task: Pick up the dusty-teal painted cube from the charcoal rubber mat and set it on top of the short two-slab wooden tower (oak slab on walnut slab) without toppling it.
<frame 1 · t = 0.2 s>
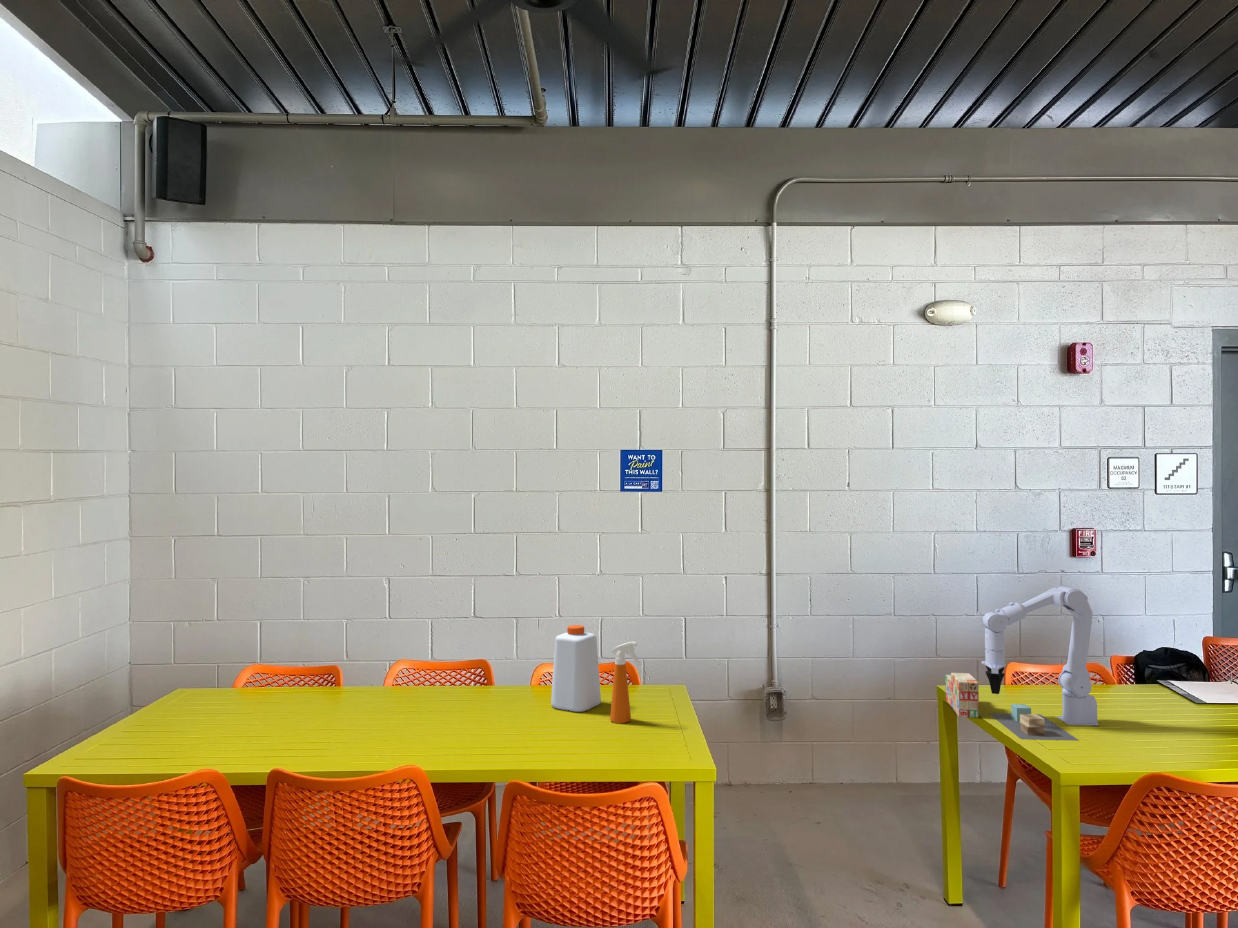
hand: (995, 690, 259), 10 cm above the table, fingers open, 7 cm apart
rubber mat: (1031, 726, 251), on the table
teal cube: (1021, 719, 258), resting on rubber mat
walnut slab: (1032, 732, 245), resting on rubber mat, touching oak slab
spray bottle: (626, 721, 260), on the table
plastic bottle: (576, 705, 278), on the table
oak slab: (1032, 724, 245), point 3 cm above the table, touching walnut slab
stack of blocks: (961, 709, 271), on the table
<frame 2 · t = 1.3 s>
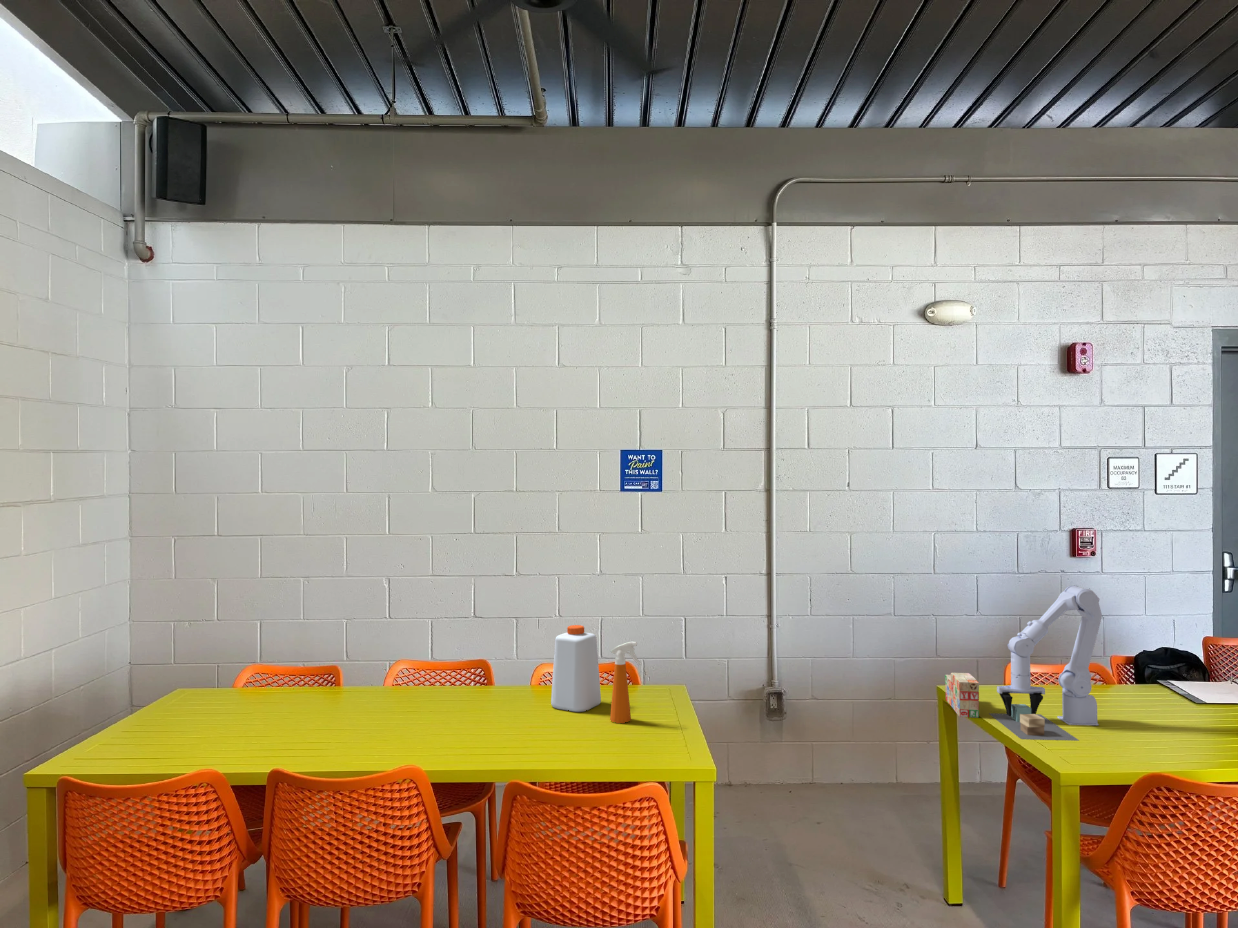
hand: (1021, 715, 258), 2 cm above the table, fingers open, 7 cm apart
nothing on the table moved.
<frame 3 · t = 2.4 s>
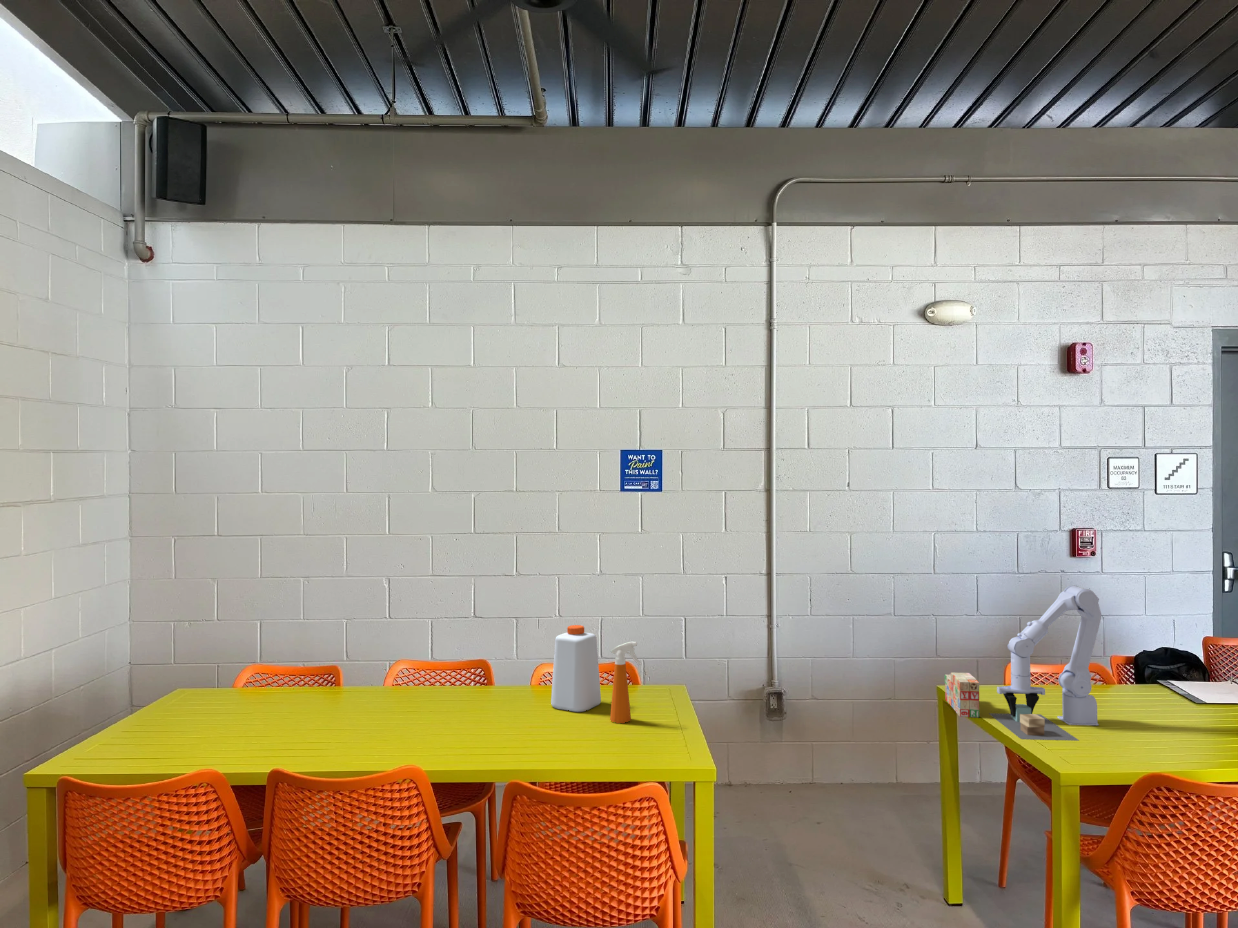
hand: (1021, 715, 258), 2 cm above the table, fingers closed on teal cube, 4 cm apart
teal cube: (1021, 719, 258), resting on rubber mat, touching gripper
everything else where it was.
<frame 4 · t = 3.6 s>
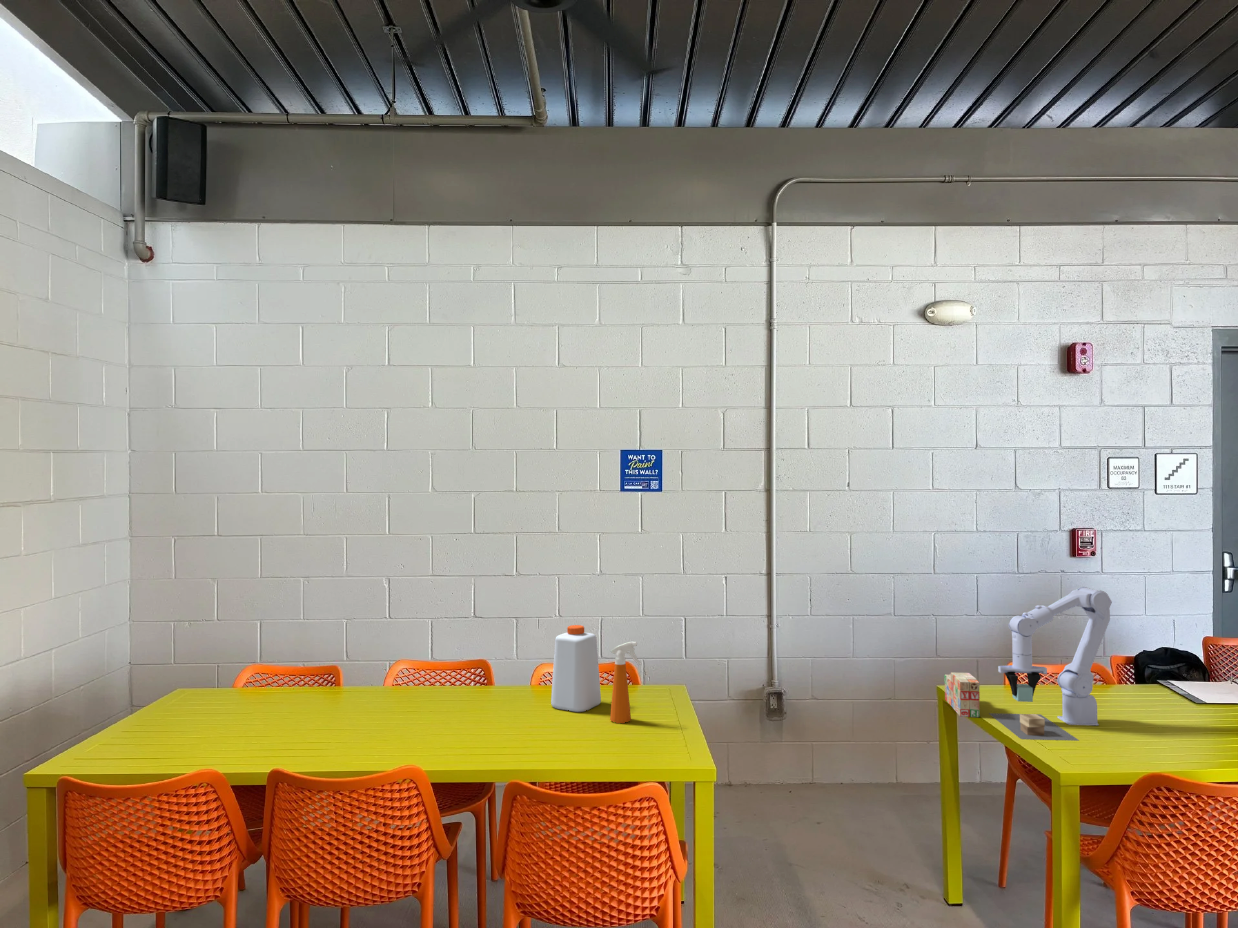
hand: (1022, 695, 255), 9 cm above the table, fingers closed on teal cube, 4 cm apart
teal cube: (1022, 699, 256), point 8 cm above the table, touching gripper
everything else where it was.
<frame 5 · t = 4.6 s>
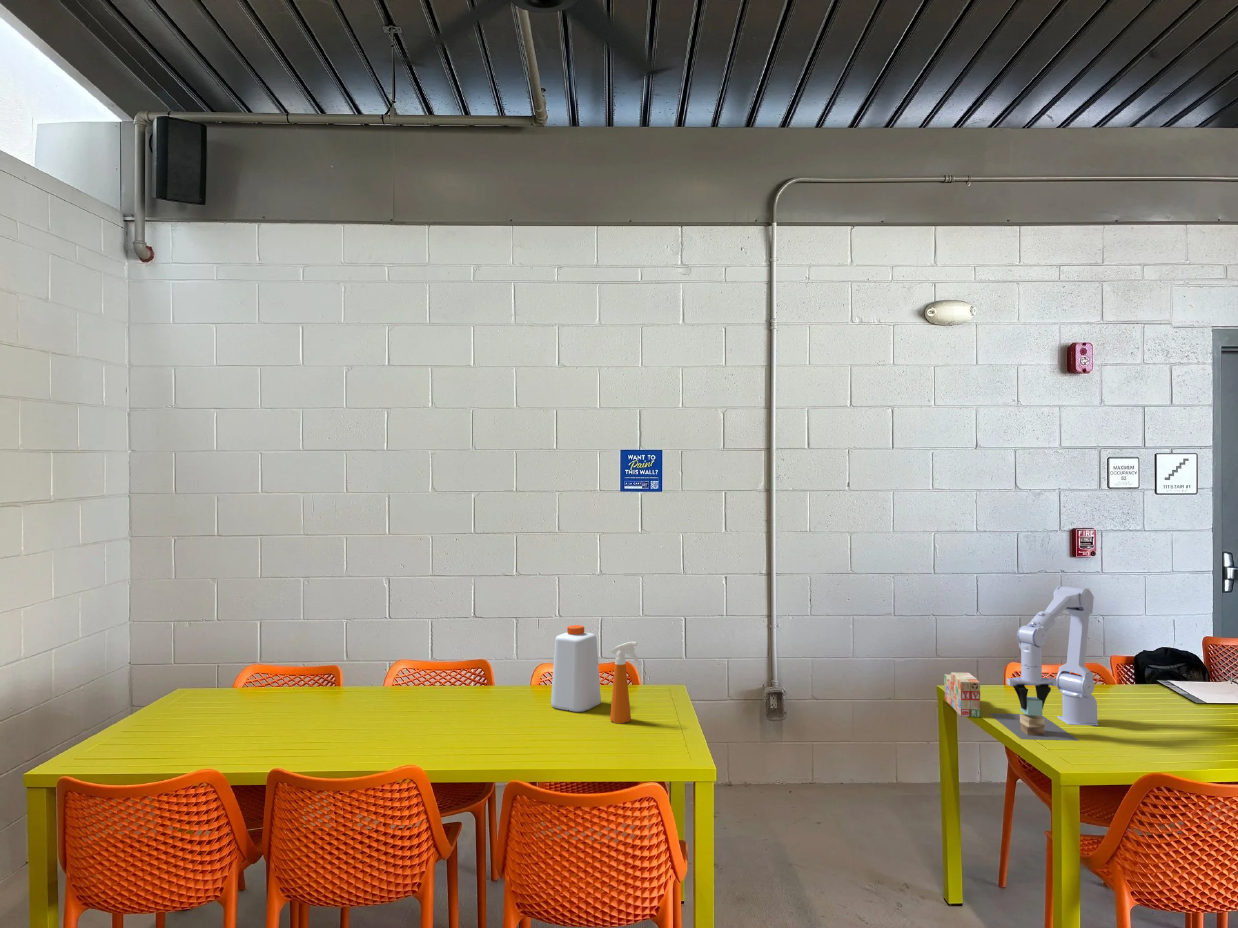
hand: (1031, 708, 245), 8 cm above the table, fingers closed on teal cube, 4 cm apart
teal cube: (1031, 712, 245), point 6 cm above the table, touching gripper
everything else where it was.
when the fingers open (8 cm above the table, at t = 5.1 s): teal cube stays where it is, resting on oak slab.
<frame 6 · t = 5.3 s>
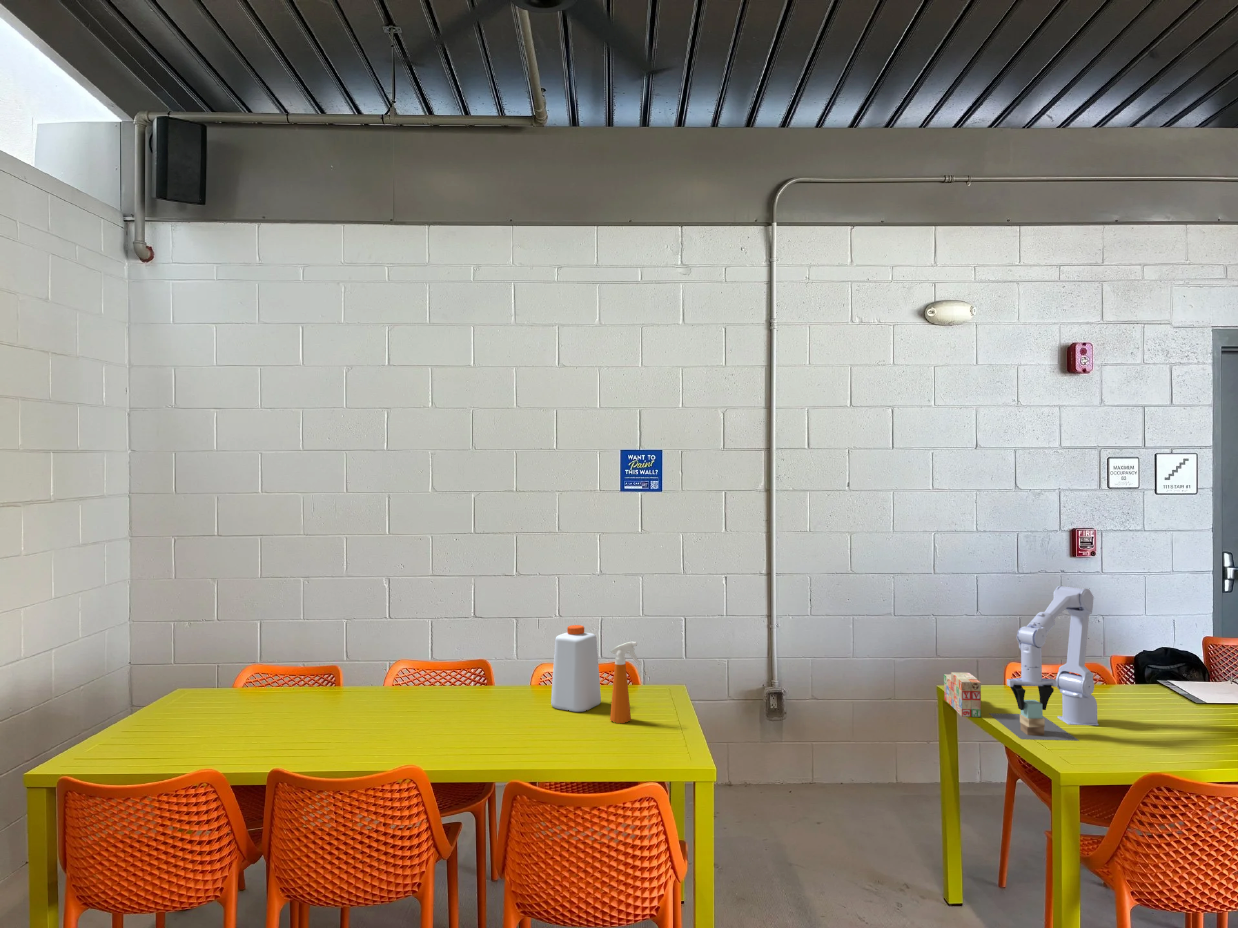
hand: (1031, 709, 245), 8 cm above the table, fingers open, 6 cm apart
teal cube: (1031, 716, 245), point 5 cm above the table, touching oak slab
oak slab: (1032, 724, 245), point 3 cm above the table, touching teal cube, walnut slab
everything else where it was.
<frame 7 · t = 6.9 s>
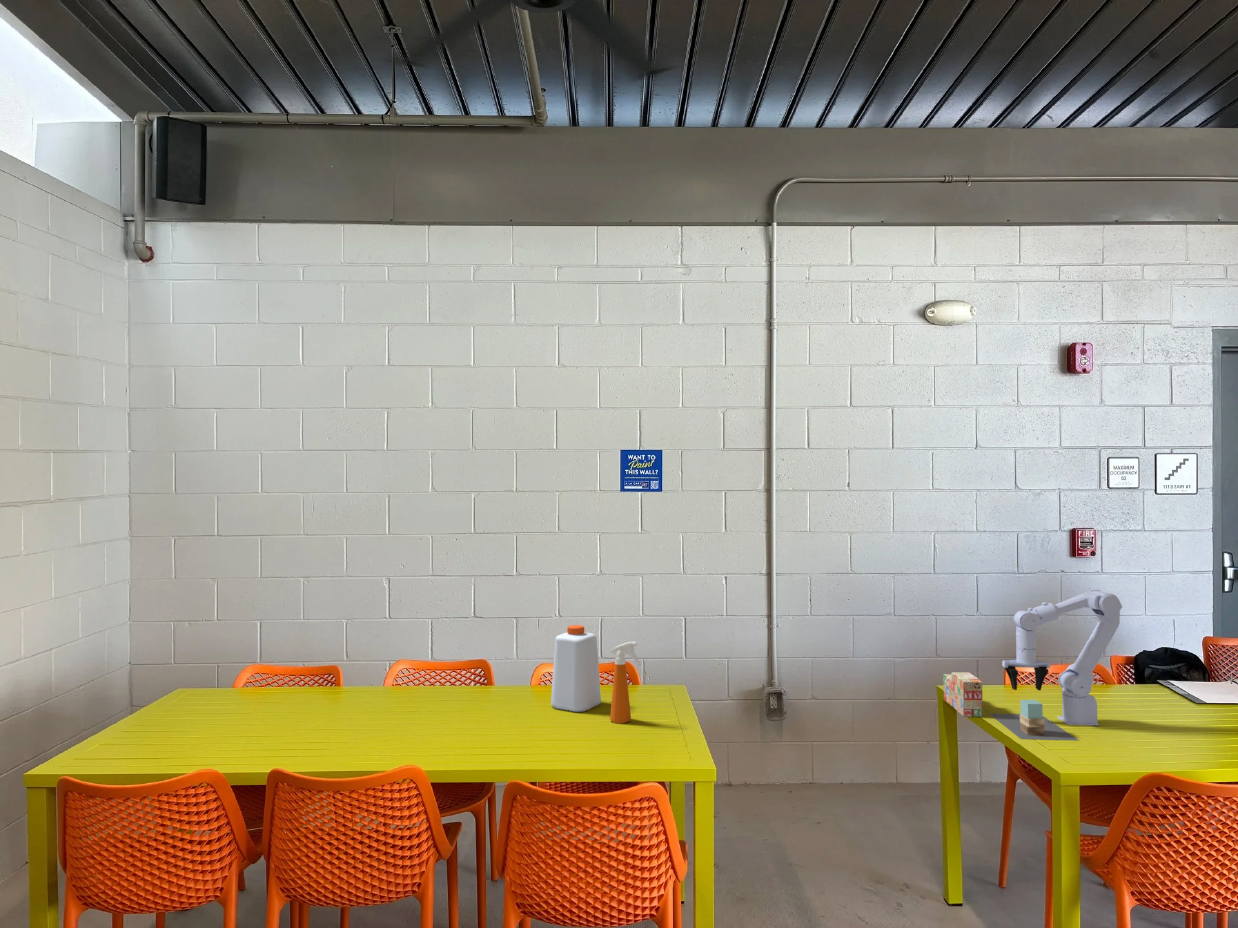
hand: (1026, 689, 258), 10 cm above the table, fingers open, 7 cm apart
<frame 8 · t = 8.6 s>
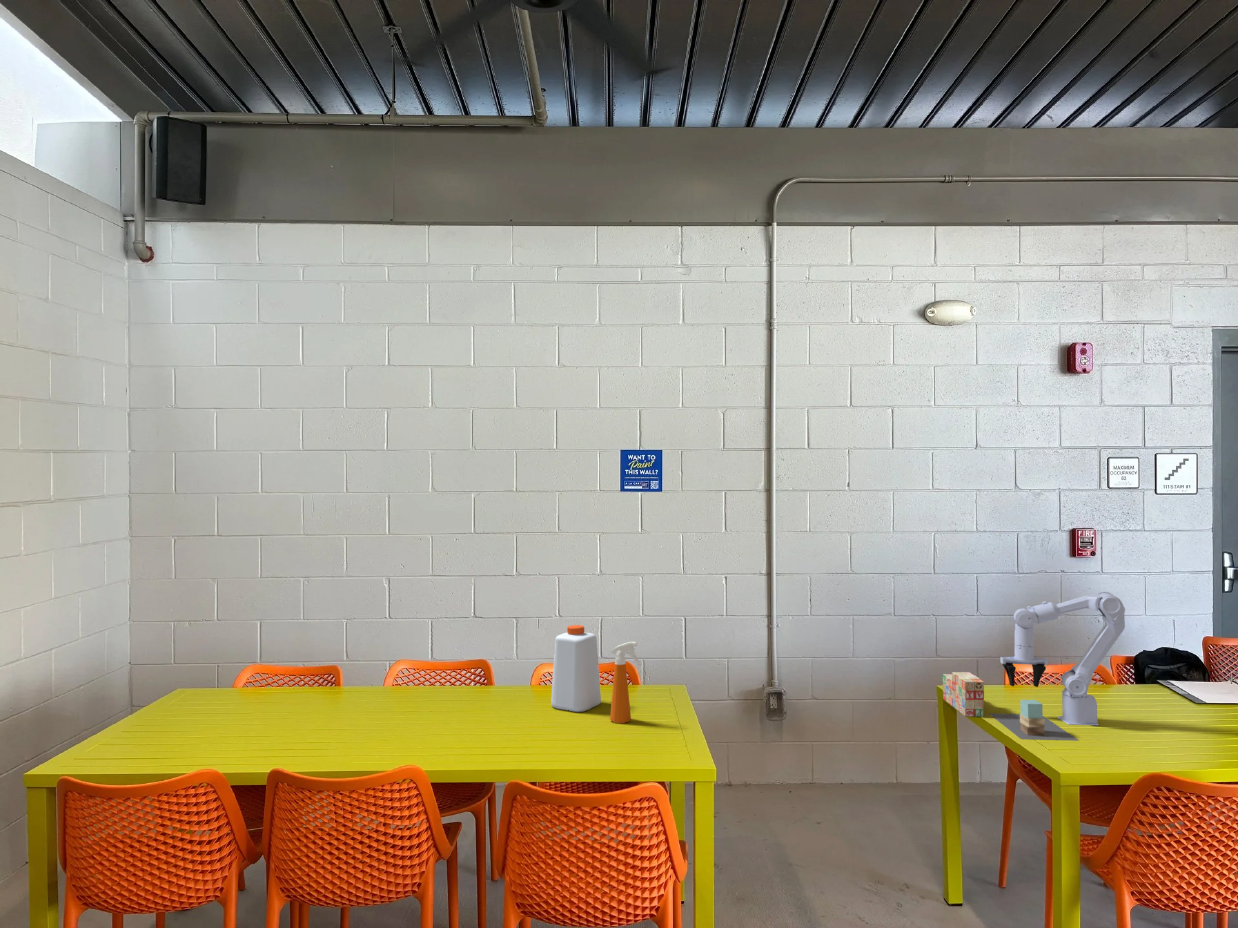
hand: (1023, 685, 262), 10 cm above the table, fingers open, 7 cm apart
at the end: teal cube 0.3 cm off-centre on the walnut slab, point 5.0 cm above the walnut slab's base; teal cube tilted 0°; oak slab moved 0.0 cm from its start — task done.
